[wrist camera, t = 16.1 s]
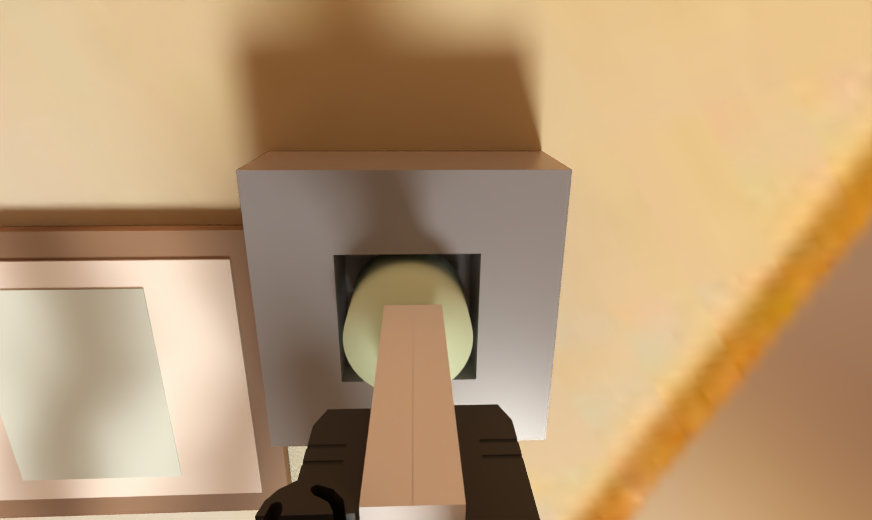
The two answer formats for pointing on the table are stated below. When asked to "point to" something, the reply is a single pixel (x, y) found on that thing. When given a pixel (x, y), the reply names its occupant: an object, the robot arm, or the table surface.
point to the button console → (403, 234)
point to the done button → (405, 285)
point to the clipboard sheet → (131, 373)
